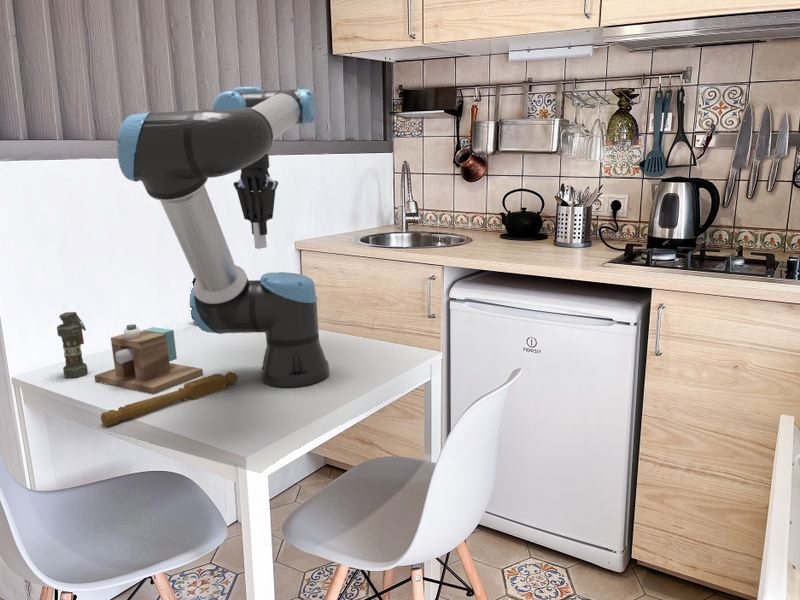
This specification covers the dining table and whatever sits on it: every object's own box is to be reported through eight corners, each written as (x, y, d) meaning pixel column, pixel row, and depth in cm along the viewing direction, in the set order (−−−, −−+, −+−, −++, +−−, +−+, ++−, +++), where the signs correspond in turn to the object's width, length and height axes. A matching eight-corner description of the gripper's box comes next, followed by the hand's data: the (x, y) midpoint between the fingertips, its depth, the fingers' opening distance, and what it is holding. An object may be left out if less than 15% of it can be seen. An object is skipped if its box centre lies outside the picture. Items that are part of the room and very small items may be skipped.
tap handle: (99, 410, 129) (230, 368, 150) (101, 425, 129) (232, 381, 151) (106, 414, 127) (239, 371, 148) (108, 429, 127) (240, 384, 149)
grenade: (85, 377, 158) (76, 315, 155) (59, 378, 158) (49, 316, 155) (97, 369, 164) (89, 309, 161) (72, 370, 164) (63, 310, 161)
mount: (203, 374, 156) (198, 331, 154) (153, 394, 145) (147, 347, 142) (145, 364, 166) (140, 323, 164) (95, 381, 155) (88, 337, 153)
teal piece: (176, 358, 158) (173, 330, 156) (131, 374, 147) (127, 343, 146) (156, 355, 161) (153, 327, 160) (111, 370, 151) (107, 340, 149)
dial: (143, 336, 151) (141, 324, 151) (131, 340, 149) (130, 327, 148) (133, 335, 153) (132, 323, 152) (121, 338, 150) (120, 326, 150)
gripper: (283, 151, 166) (290, 246, 171) (244, 153, 173) (252, 245, 178) (262, 152, 160) (270, 250, 165) (222, 154, 167) (231, 249, 171)
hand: (260, 247), depth 171 cm, fingers closed
